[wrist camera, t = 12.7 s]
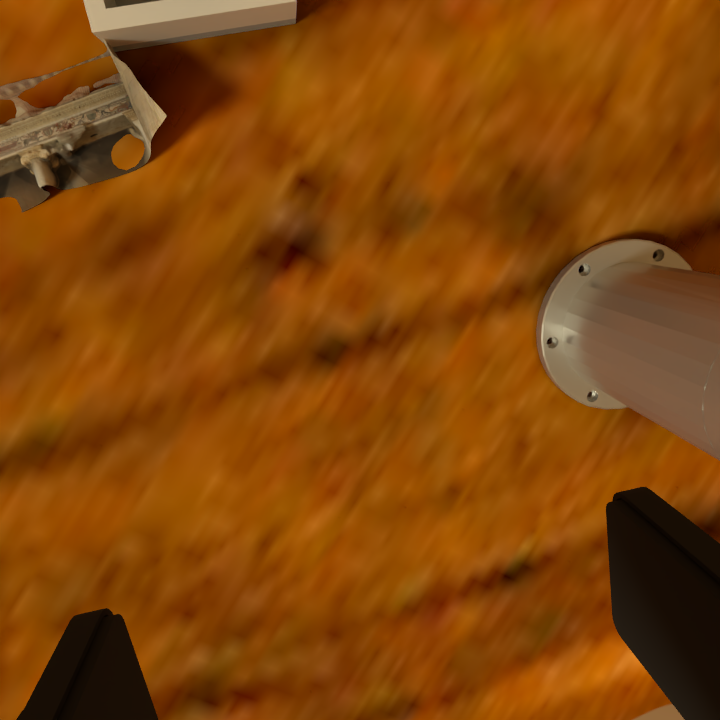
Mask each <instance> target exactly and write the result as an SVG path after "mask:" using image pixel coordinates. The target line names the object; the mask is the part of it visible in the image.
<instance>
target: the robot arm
mask: <svg viewBox="0 0 720 720" xmlns="http://www.w3.org/2000/svg"><path fill="white" fill-rule="evenodd" d="M653 253H654V254H653ZM580 266H581V270H580V272H579V267H580ZM536 333H537V348H538V352H539V356H540V360H541V363H542V365H543V367H544V369H545V371H546V373H547V375H548V376H549V377H550V379H551V380H552V381H553V383H554V384H555V385H556V386H557V387H558V388H559V389H561V390H562V391H563V392H564V393H565V394H567V395H568V396H570V397H571V398H573V399H575V400H576V401H578V402H580V403H582V404H585V405H587V406H590V407H595V408H601V409H621V408H626V407H629V408H631V409H633V410H634V411H636V412H638V413H640V414H641V415H643V416H645V417H646V418H648V419H650V420H652V421H653V422H655V423H657V424H658V425H660V426H662V427H663V428H665V429H667V430H669V431H670V432H672V433H674V434H675V435H677V436H679V437H680V438H682V439H684V440H686V441H687V442H689V443H691V444H692V445H694V446H696V447H697V448H699V449H701V450H703V451H704V452H706V453H708V454H709V455H711V456H713V457H714V458H716V459H718V460H720V275H716V274H710V273H703V272H697V271H693V270H692V268H691V266H690V265H689V264H688V263H687V262H686V261H685V260H684V259H683V258H682V257H681V256H680V255H679V254H678V253H676V252H675V251H673V250H672V249H670V248H669V247H667V246H665V245H662V244H659V243H656V242H653V241H648V240H641V239H618V240H613V241H608V242H604V243H602V244H599V245H597V246H594V247H592V248H590V249H588V250H587V251H585V252H583V253H582V254H580V255H579V256H577V257H576V258H574V259H573V260H572V261H571V262H570V263H569V264H568V265H567V266H566V267H565V268H563V270H562V271H561V272H560V273H559V275H558V276H557V277H556V278H555V280H554V281H553V282H552V284H551V286H550V288H549V290H548V291H547V293H546V295H545V297H544V300H543V303H542V306H541V309H540V312H539V315H538V322H537V329H536ZM549 338H550V341H549V342H548V343H547V340H548V339H549ZM588 393H589V394H588ZM606 517H607V534H608V550H609V567H610V584H611V600H612V616H613V621H614V624H615V627H616V629H617V631H618V633H619V635H620V636H621V638H622V639H623V641H624V642H625V643H626V644H627V646H628V647H629V648H630V650H631V651H632V652H633V653H634V655H635V656H636V657H637V659H638V660H639V661H640V663H641V664H642V665H643V666H644V668H645V669H646V670H647V672H648V673H649V674H650V675H651V677H652V678H653V679H654V681H655V682H656V683H657V684H658V686H659V687H660V688H661V690H662V691H663V692H664V693H665V695H666V696H667V697H668V699H669V700H670V701H671V702H672V704H673V705H674V706H675V707H676V709H677V710H678V712H680V714H681V715H682V717H683V718H684V719H685V720H720V544H719V543H718V542H717V541H715V540H714V539H713V538H712V537H710V536H709V535H708V534H706V533H705V532H704V531H703V530H701V529H700V528H699V527H698V526H696V525H695V524H694V523H692V522H691V521H690V520H689V519H687V518H686V517H685V516H683V515H682V514H681V513H680V512H678V511H677V510H676V509H674V508H673V507H672V506H671V505H669V504H668V503H667V502H665V501H664V500H663V499H662V498H660V497H659V496H658V495H656V494H655V493H654V492H653V491H651V490H650V489H648V488H647V487H640V488H635V489H631V490H626V491H622V492H618V493H616V494H614V497H613V502H609V503H608V504H607V506H606ZM16 720H158V717H157V714H156V711H155V709H154V706H153V703H152V700H151V697H150V694H149V691H148V688H147V685H146V683H145V680H144V677H143V674H142V671H141V668H140V665H139V662H138V659H137V657H136V654H135V651H134V648H133V645H132V642H131V639H130V636H129V633H128V631H127V628H126V625H125V622H124V619H123V617H122V616H121V615H120V614H116V615H113V614H112V612H111V611H110V610H109V609H107V608H105V609H101V610H96V611H92V612H88V613H83V614H79V615H76V616H74V617H73V618H72V619H71V620H70V622H69V624H68V626H67V628H66V630H65V632H64V634H63V636H62V638H61V639H60V641H59V643H58V645H57V647H56V649H55V651H54V653H53V655H52V657H51V659H50V661H49V662H48V664H47V666H46V668H45V670H44V672H43V674H42V676H41V678H40V680H39V682H38V684H37V685H36V687H35V689H34V691H33V693H32V695H31V697H30V699H29V701H28V703H27V705H26V706H25V708H24V710H23V711H22V712H21V714H20V715H19V716H18V718H17V719H16Z"/></svg>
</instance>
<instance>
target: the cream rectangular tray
mask: <svg viewBox="0 0 720 720" xmlns="http://www.w3.org/2000/svg"><path fill="white" fill-rule="evenodd" d="M84 4H85V8H86V11H87V15H88V19H89V22H90V26H91V30H92V33H93V34H94V35H95V36H97V37H98V38H99V39H100V40H101V41H102V42H103V43H104V44H106V42H107V43H108V44H109V45H110V46H111V47H112V48H113V50H114V52H118V51H124V50H131V49H137V48H143V47H150V46H156V45H162V44H169V43H175V42H181V41H188V40H194V39H200V38H207V37H213V36H219V35H226V34H232V33H239V32H245V31H251V30H258V29H264V28H270V27H277V26H283V25H289V24H296V7H297V0H84ZM104 40H105V41H106V42H105V41H104ZM106 45H107V44H106Z"/></svg>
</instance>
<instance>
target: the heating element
mask: <svg viewBox="0 0 720 720" xmlns="http://www.w3.org/2000/svg"><path fill="white" fill-rule="evenodd" d="M104 41H105V40H104ZM105 42H106V41H105ZM106 44H107V45H106ZM106 44H105V45H106V47H107V49H108V51H107V52H106V53H104V54H102V55H100V56H98V57H95V58H92V59H90V60H87V61H84V62H82V63H80V64H77V65H75V66H78V65H81V64H84V63H87V62H90V61H93V60H96V59H99V58H102V57H106V56H111V57H112V59H113V61H114V63H115V65H116V67H117V69H118V71H119V73H117V74H114V75H113V76H111V77H110V78H108V79H104V80H102V81H98V82H96V83H95V84H94V85H93V86H94V88H98V87H100V86H102V85H103V84H104V83H117V84H113V85H110V86H107V87H104V88H100V89H98V90H95V91H93V92H91V93H90V91H89V86H85V87H79V88H77V89H76V90H75V91H74V92H73V93H72V94H70V95H67V96H65V97H64V98H63V100H62V101H61V102H60V103H58V104H57V105H56V106H51V107H47V108H44V109H43V108H35V107H33V106H31V105H29V104H28V103H27V102H25V101H23V100H21V99H19V98H18V97H17V96H19V95H20V94H21V93H22V92H24V90H27V89H30V88H33V87H34V86H35V85H37V84H38V83H39V82H41V81H43V80H45V79H47V78H50V77H52V76H55V75H56V74H58V73H60V72H61V71H64V70H67V69H70V68H73V67H75V66H72V67H69V68H67V69H64V70H61V71H57V72H54V73H50V74H47V75H44V76H40V77H36V78H31V79H26V80H22V81H19V82H16V83H12V84H7V85H4V86H1V87H0V99H10V100H12V101H14V104H15V107H16V109H17V113H16V115H15V118H13V119H10V120H8V121H7V122H6V123H4V124H0V198H3V197H13V198H16V199H17V201H18V202H19V204H20V206H21V209H22V212H24V211H26V210H28V209H31V208H33V207H34V206H36V205H38V204H40V203H42V202H43V201H44V200H45V199H47V197H48V196H49V195H50V193H49V192H48V191H46V190H45V189H44V188H43V187H42V186H44V185H52V186H54V187H56V188H57V189H62V190H66V189H71V188H77V187H81V186H85V185H89V184H93V183H96V182H100V181H103V180H107V179H110V178H114V177H117V176H120V175H124V174H126V173H129V172H132V171H134V170H136V169H138V168H140V167H142V166H143V165H144V164H146V163H147V161H148V160H149V158H150V155H151V139H152V137H153V135H154V134H155V132H156V131H157V129H158V128H159V127H160V125H161V124H162V122H163V121H164V120H165V118H166V116H167V115H166V114H165V113H164V112H163V111H162V110H161V108H160V107H159V106H158V105H157V104H156V103H155V102H154V101H153V99H152V98H151V97H150V96H149V95H148V94H147V92H146V91H145V90H144V89H143V88H142V86H141V85H140V84H139V82H138V81H137V79H136V78H135V76H134V75H133V73H132V71H131V70H130V69H129V67H128V66H127V65H126V64H125V63H124V62H122V61H121V60H120V59H119V58H118V56H117V54H116V53H115V52H114V50H113V48H112V47H111V46H110V45H109V44H108V43H107V42H106ZM126 134H132V135H133V136H134V137H136V138H138V139H140V140H142V141H143V142H144V146H145V151H144V155H143V157H142V159H141V160H140V162H139V163H138V164H137V165H136V166H135V167H133V168H131V169H129V170H127V171H126V170H122V169H118V168H117V167H116V166H115V165H114V164H113V162H112V159H111V151H112V148H113V146H114V145H115V143H116V142H117V141H118V140H120V139H121V138H122V137H123V136H125V135H126Z"/></svg>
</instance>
